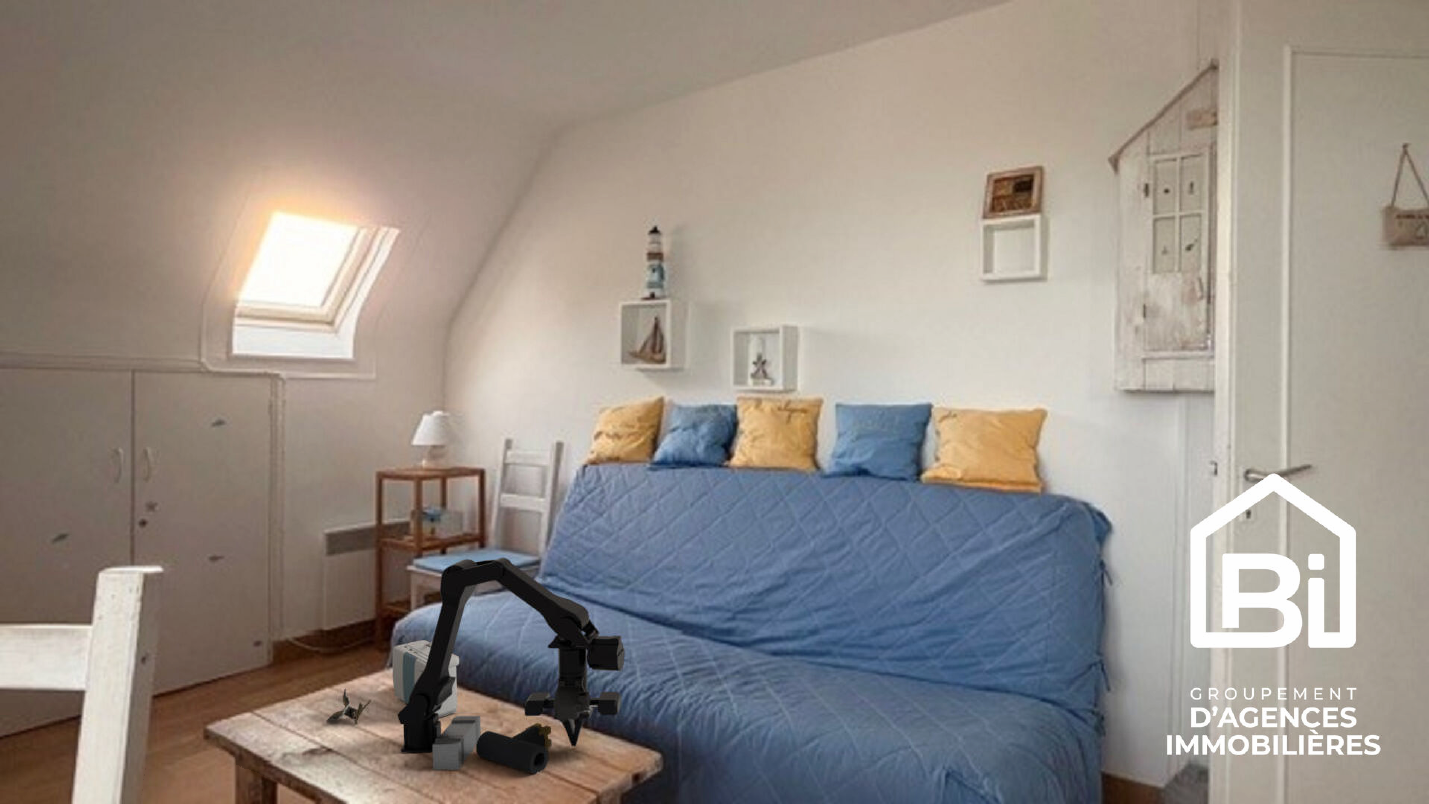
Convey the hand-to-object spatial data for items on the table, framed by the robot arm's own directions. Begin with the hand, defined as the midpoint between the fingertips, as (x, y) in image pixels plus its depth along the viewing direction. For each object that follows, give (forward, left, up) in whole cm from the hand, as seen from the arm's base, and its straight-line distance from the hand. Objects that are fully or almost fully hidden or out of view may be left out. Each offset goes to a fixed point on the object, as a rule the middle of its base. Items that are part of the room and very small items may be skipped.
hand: (574, 745), depth 163 cm
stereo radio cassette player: (-40, +26, -2) cm, 48 cm away
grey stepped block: (-24, 0, -1) cm, 24 cm away
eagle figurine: (-56, +18, -2) cm, 58 cm away
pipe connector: (-10, -2, -2) cm, 10 cm away
